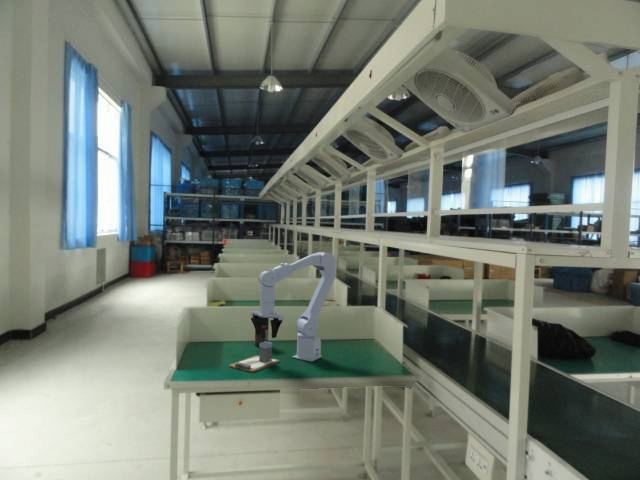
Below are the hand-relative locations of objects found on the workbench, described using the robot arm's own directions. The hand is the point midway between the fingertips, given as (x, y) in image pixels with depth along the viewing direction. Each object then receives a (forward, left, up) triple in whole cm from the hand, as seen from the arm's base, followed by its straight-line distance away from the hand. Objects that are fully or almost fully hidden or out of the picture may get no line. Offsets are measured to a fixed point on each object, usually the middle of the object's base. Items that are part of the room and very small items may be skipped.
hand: (266, 336), depth 162 cm
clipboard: (+1, +5, -10) cm, 11 cm away
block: (-1, +2, -9) cm, 9 cm away
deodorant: (+16, -18, -10) cm, 26 cm away
